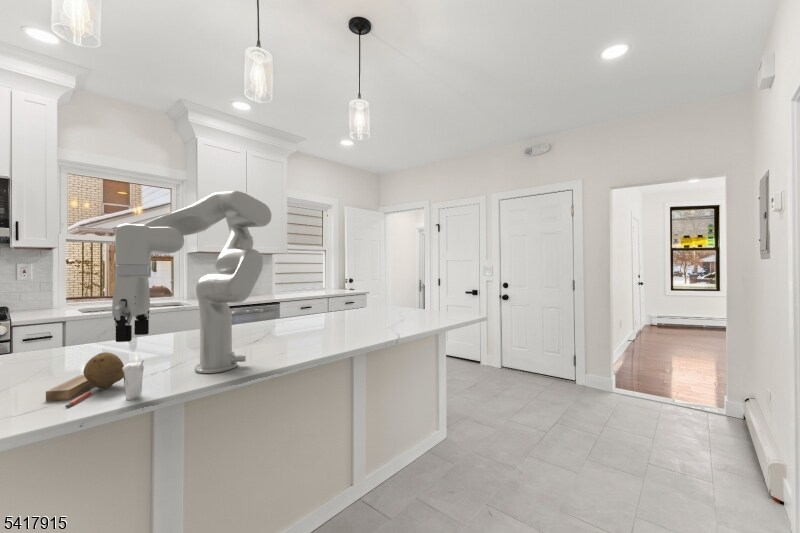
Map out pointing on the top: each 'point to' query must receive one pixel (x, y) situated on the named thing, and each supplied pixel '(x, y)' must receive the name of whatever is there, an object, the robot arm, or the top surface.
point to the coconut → (104, 370)
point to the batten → (68, 389)
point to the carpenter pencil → (78, 399)
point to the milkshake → (133, 380)
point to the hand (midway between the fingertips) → (133, 337)
